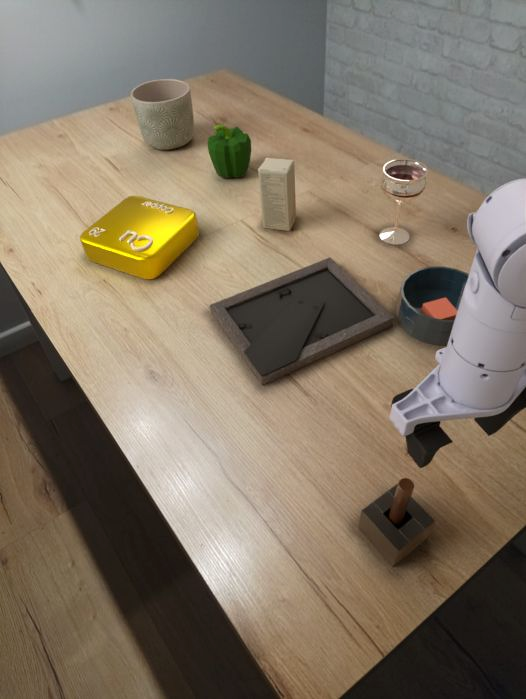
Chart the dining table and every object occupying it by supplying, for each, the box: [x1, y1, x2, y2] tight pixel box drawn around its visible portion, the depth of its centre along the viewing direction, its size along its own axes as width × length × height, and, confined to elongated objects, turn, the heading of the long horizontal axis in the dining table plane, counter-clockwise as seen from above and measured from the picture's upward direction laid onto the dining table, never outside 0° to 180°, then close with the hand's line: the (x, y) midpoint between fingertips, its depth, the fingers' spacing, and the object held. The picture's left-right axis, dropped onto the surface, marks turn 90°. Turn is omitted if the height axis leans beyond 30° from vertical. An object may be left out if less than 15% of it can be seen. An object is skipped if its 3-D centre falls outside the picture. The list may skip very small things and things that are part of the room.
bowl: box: [395, 265, 469, 346], centre depth 72 cm, size 11×11×4 cm
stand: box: [357, 482, 436, 568], centre depth 51 cm, size 5×5×4 cm
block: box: [421, 297, 457, 320], centre depth 70 cm, size 4×4×4 cm
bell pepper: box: [206, 124, 252, 179], centre depth 100 cm, size 8×8×10 cm
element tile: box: [79, 195, 200, 280], centre depth 87 cm, size 15×15×5 cm
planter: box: [130, 78, 195, 151], centre depth 111 cm, size 12×12×11 cm
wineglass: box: [379, 158, 429, 246], centre depth 83 cm, size 7×7×12 cm
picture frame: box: [209, 257, 395, 386], centre depth 74 cm, size 16×2×21 cm
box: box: [257, 157, 297, 232], centre depth 87 cm, size 5×4×11 cm
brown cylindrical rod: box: [388, 477, 415, 529], centre depth 49 cm, size 1×1×10 cm
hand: (451, 442), depth 48 cm, fingers open, 7 cm apart
